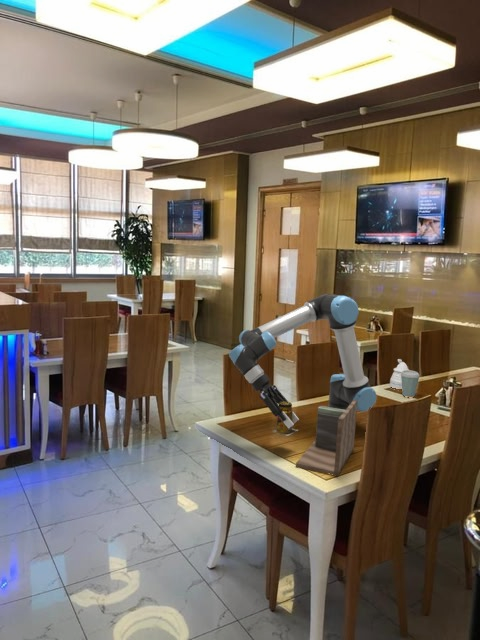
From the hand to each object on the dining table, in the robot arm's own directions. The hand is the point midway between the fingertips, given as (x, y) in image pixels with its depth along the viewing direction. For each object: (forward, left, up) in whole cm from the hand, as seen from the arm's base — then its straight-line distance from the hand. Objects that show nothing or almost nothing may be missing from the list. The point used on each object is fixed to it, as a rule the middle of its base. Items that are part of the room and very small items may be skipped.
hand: (293, 423), depth 198 cm
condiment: (+2, -3, -4) cm, 6 cm away
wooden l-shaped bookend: (-12, +7, -12) cm, 18 cm away
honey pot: (-107, -86, -12) cm, 138 cm away
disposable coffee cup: (-100, -67, -12) cm, 121 cm away
